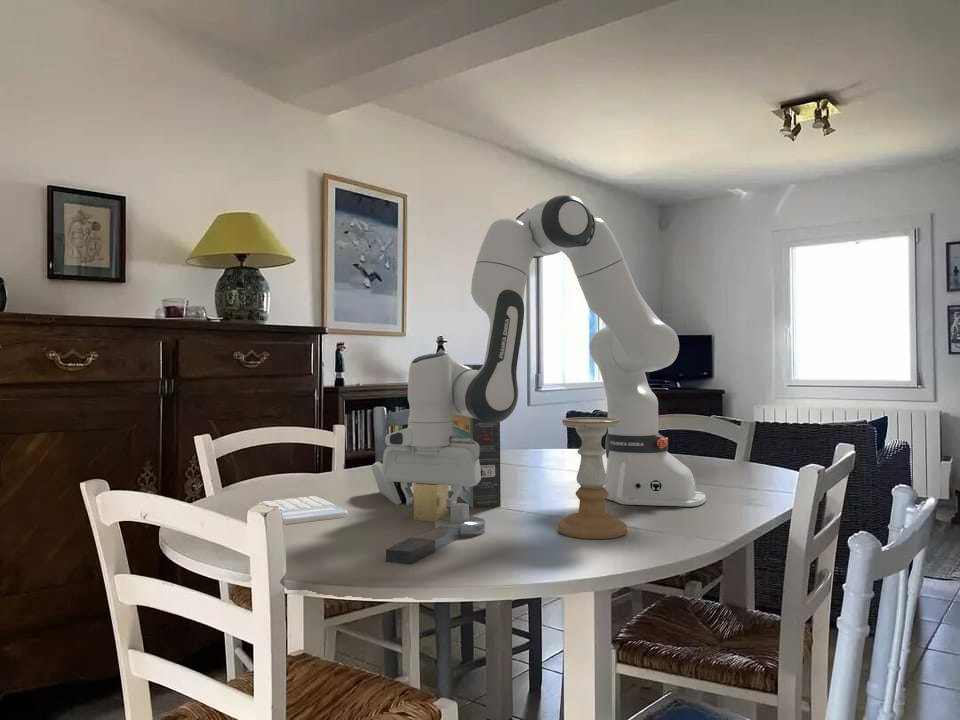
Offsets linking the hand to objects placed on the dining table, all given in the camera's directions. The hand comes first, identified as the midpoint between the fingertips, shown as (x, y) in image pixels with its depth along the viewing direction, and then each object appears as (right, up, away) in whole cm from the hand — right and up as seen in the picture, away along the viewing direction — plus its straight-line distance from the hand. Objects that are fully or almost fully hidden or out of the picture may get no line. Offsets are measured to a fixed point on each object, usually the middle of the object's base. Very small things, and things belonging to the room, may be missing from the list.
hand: (431, 506), depth 144 cm
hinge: (-10, -3, +22) cm, 25 cm away
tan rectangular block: (0, -2, 0) cm, 2 cm away
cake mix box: (+8, -3, +21) cm, 23 cm away
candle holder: (+30, -2, -12) cm, 32 cm away
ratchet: (+2, -2, -19) cm, 20 cm away
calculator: (-27, -3, +8) cm, 28 cm away
